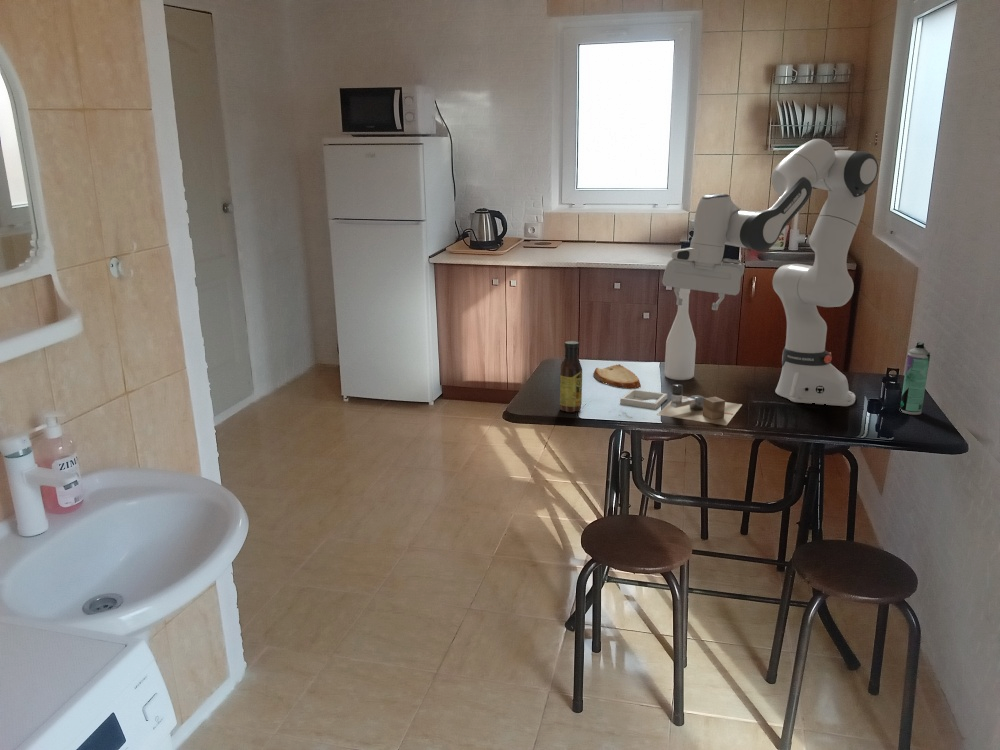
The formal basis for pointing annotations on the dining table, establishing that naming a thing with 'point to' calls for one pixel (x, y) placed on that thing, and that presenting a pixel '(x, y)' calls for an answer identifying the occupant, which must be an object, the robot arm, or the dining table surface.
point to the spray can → (915, 380)
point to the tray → (643, 398)
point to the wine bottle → (681, 343)
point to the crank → (677, 400)
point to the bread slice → (617, 376)
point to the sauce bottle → (571, 379)
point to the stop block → (713, 408)
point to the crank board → (699, 413)
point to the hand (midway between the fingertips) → (696, 307)
